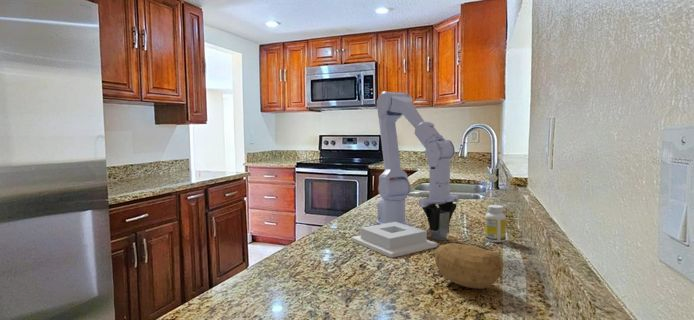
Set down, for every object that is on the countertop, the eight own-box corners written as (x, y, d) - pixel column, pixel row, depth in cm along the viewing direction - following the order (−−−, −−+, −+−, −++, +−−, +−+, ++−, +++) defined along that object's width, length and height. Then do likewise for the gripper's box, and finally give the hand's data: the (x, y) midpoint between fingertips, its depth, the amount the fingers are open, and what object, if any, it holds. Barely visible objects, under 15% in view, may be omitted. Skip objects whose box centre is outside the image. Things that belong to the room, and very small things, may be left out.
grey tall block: (429, 238, 107) (429, 211, 106) (438, 236, 109) (439, 209, 109) (439, 241, 104) (439, 213, 103) (449, 239, 106) (449, 211, 105)
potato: (450, 269, 82) (450, 234, 82) (512, 289, 72) (512, 249, 71) (422, 281, 76) (422, 243, 75) (486, 304, 65) (486, 260, 65)
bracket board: (351, 240, 105) (351, 226, 105) (394, 232, 114) (394, 219, 114) (391, 257, 90) (391, 242, 90) (437, 246, 99) (437, 232, 99)
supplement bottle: (502, 237, 107) (502, 204, 106) (508, 243, 101) (509, 208, 101) (482, 237, 107) (483, 204, 107) (488, 242, 102) (488, 208, 101)
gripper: (431, 185, 98) (431, 235, 99) (467, 181, 106) (467, 228, 107) (413, 183, 104) (413, 230, 105) (448, 179, 112) (448, 223, 113)
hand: (439, 228), depth 106 cm, fingers closed on grey tall block, 4 cm apart
